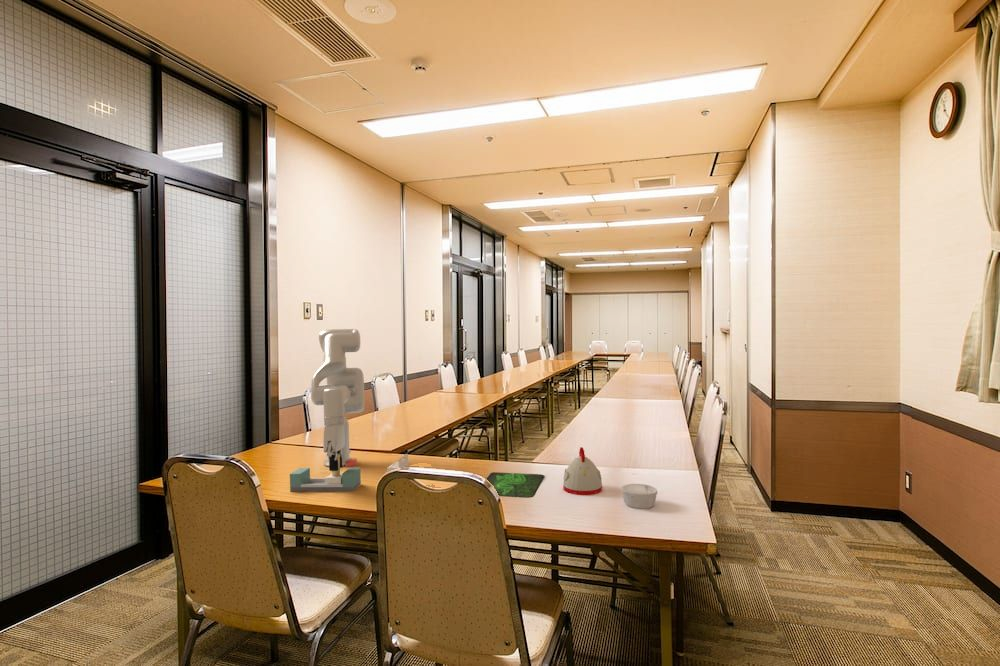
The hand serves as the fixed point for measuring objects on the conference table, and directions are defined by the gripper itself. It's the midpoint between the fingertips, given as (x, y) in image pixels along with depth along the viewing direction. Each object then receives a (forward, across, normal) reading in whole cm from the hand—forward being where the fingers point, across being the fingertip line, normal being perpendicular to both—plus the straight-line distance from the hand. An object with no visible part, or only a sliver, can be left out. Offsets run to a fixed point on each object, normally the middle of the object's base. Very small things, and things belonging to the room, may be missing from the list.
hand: (335, 468), depth 192 cm
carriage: (+6, 0, 0) cm, 6 cm away
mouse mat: (+8, -3, +66) cm, 66 cm away
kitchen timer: (+8, +2, +92) cm, 92 cm away
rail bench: (+7, 0, -4) cm, 8 cm away
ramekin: (+8, +18, +109) cm, 111 cm away
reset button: (-1, 0, +6) cm, 6 cm away
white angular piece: (+8, +11, +27) cm, 30 cm away
